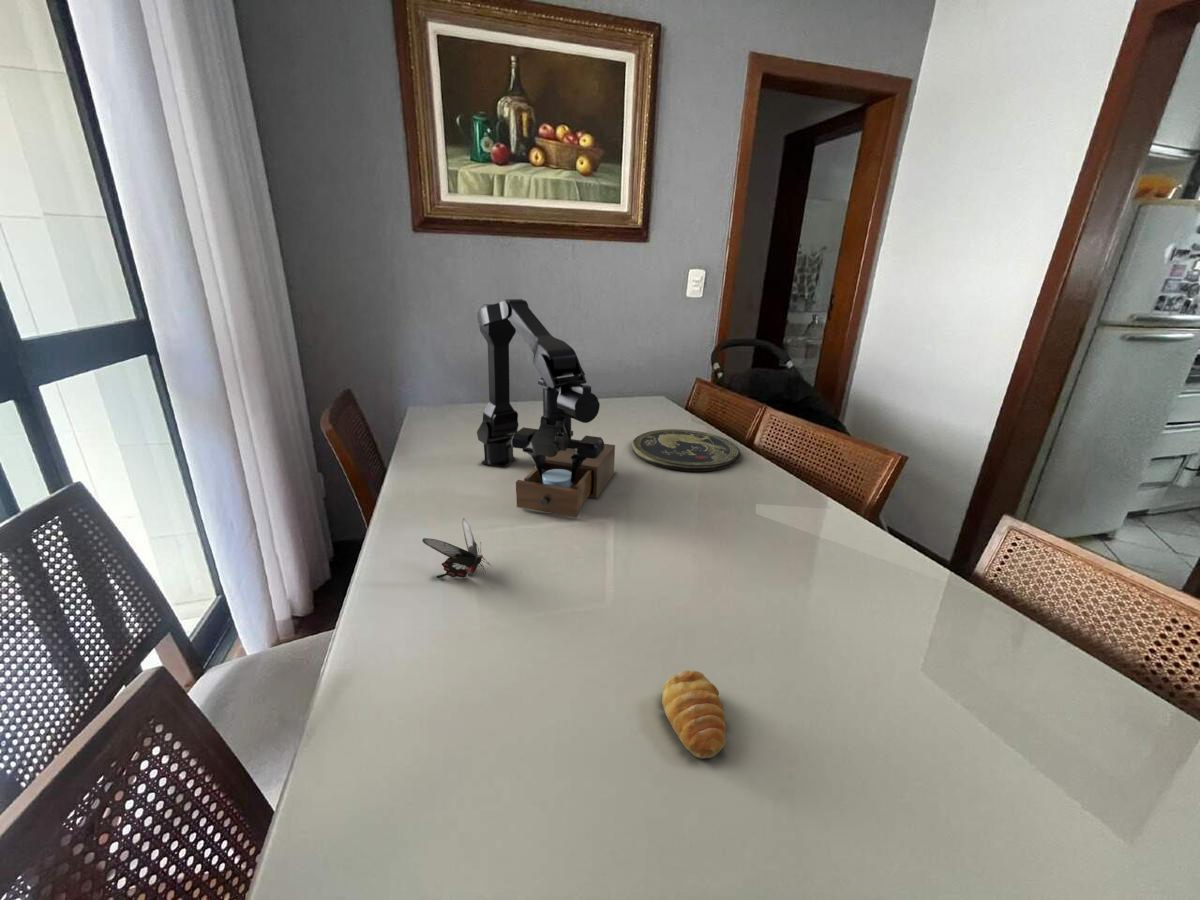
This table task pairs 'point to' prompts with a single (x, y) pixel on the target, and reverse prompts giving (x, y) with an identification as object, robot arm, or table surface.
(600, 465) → the cabinet
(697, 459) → the decorative plate
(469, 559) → the butterfly
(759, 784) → the table surface
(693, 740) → the pastry
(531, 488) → the drawer
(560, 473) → the light blue disc
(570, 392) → the robot arm
